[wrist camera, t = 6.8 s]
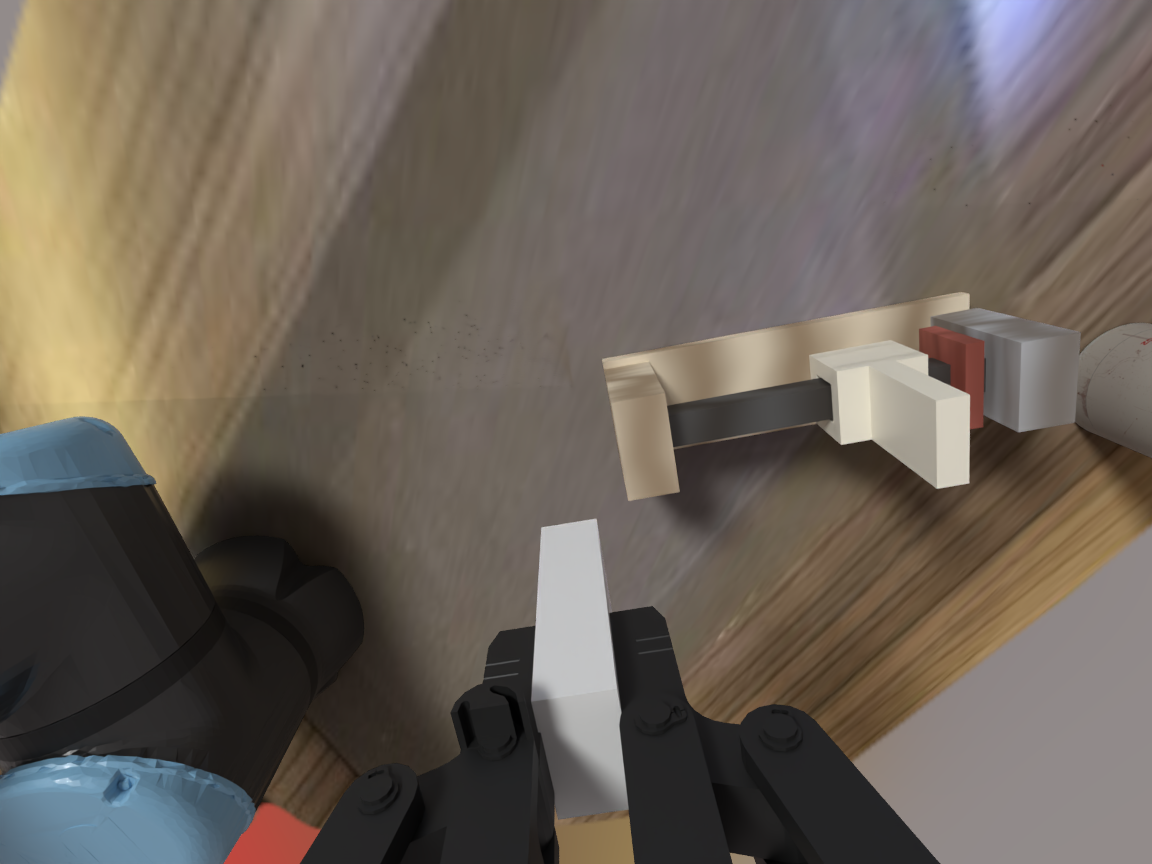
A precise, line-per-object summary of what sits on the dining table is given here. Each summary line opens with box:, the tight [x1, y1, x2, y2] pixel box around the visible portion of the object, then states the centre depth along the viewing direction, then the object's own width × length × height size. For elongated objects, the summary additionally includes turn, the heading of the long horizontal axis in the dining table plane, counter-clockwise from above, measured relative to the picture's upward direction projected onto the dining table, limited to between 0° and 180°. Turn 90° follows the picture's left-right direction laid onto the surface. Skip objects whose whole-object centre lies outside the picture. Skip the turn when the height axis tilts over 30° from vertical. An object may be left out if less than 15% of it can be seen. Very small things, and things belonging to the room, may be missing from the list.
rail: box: [602, 292, 1081, 501], centre depth 40 cm, size 24×7×10 cm, turn 101°
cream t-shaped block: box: [809, 340, 970, 489], centre depth 35 cm, size 5×4×11 cm
